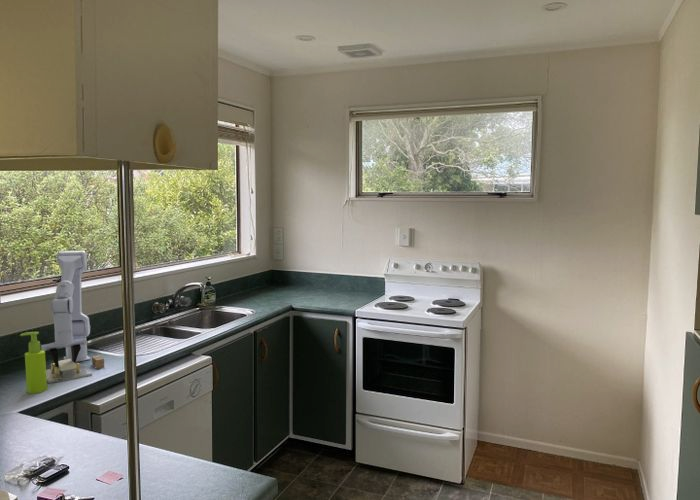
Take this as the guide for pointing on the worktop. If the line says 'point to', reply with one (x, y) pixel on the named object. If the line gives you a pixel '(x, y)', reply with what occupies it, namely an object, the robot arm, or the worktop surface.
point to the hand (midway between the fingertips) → (65, 366)
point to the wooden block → (97, 361)
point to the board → (66, 365)
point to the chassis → (66, 373)
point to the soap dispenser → (35, 365)
